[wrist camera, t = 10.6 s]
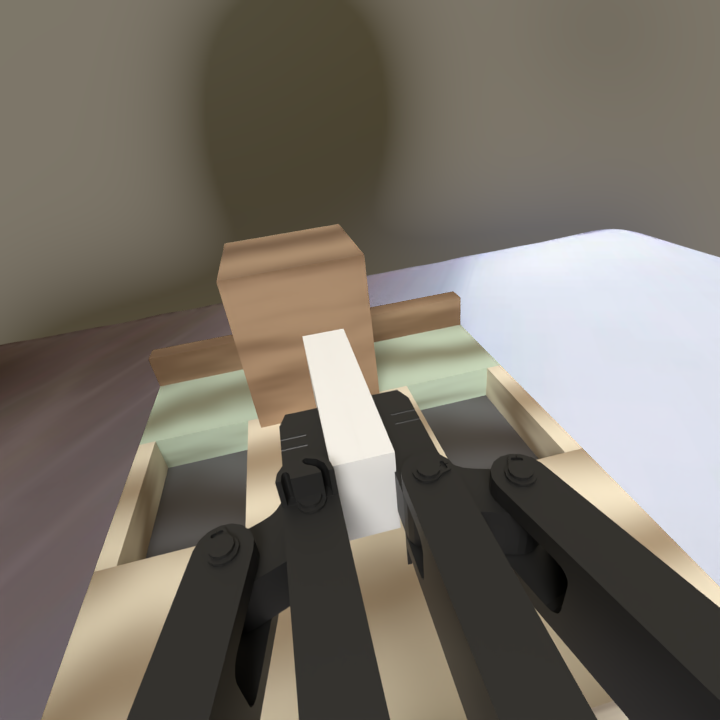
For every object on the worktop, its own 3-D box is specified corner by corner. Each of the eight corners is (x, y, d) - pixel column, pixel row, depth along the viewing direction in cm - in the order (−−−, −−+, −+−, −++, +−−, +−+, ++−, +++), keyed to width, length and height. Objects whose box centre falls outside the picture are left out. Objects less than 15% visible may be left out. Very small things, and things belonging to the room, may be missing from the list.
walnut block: (380, 400, 28) (364, 254, 23) (261, 427, 27) (216, 281, 22) (355, 346, 35) (338, 224, 30) (259, 366, 34) (224, 243, 29)
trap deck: (745, 685, 16) (809, 604, 13) (29, 934, 13) (-93, 898, 10) (453, 347, 39) (453, 291, 36) (176, 405, 36) (152, 350, 33)
